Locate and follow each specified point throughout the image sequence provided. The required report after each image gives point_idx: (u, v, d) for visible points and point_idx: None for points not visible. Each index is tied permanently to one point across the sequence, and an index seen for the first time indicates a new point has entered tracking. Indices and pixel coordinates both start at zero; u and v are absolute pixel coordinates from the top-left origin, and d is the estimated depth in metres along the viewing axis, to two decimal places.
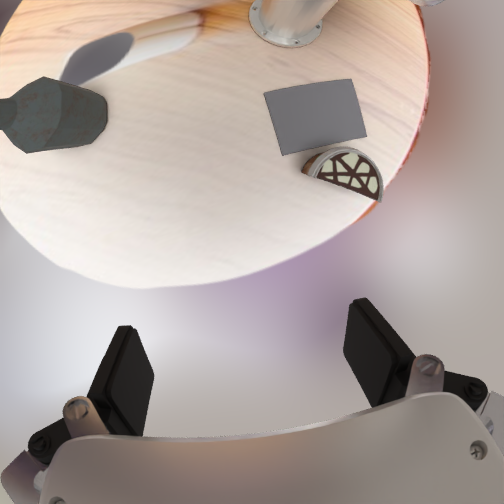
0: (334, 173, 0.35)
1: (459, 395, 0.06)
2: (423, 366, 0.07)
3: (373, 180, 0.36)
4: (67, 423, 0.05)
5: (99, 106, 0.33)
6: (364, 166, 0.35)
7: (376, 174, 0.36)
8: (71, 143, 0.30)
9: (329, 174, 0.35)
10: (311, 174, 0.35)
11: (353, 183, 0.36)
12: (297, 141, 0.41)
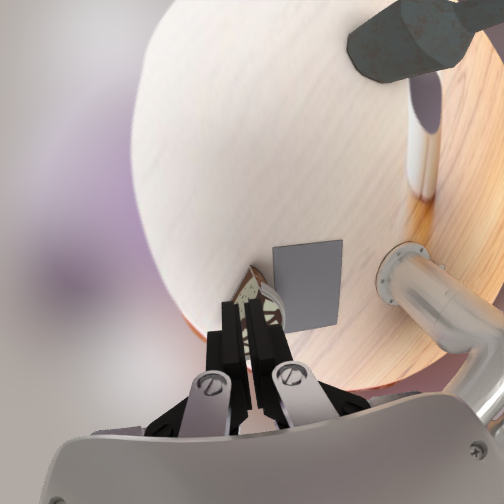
0: None
1: None
2: (286, 377, 0.08)
3: (245, 350, 0.35)
4: (205, 400, 0.07)
5: (386, 78, 0.29)
6: None
7: None
8: (371, 37, 0.23)
9: None
10: (264, 288, 0.32)
11: (246, 331, 0.34)
12: (285, 266, 0.41)
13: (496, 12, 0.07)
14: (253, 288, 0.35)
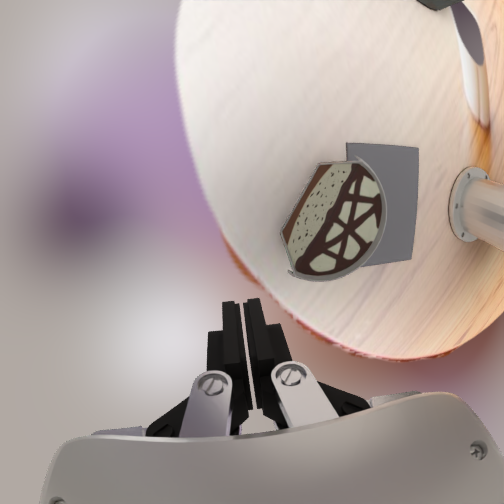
0: (356, 197, 0.22)
1: None
2: (285, 377, 0.07)
3: (329, 265, 0.24)
4: (206, 400, 0.07)
5: (438, 1, 0.17)
6: (354, 251, 0.24)
7: (337, 271, 0.24)
8: None
9: (356, 188, 0.21)
10: (361, 159, 0.21)
11: (335, 228, 0.22)
12: None
13: None
14: (338, 171, 0.24)
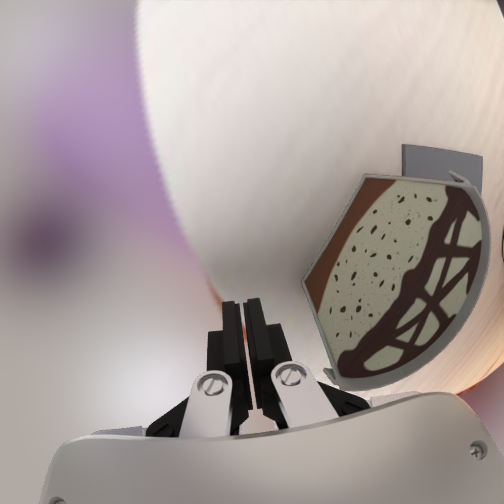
0: (452, 249, 0.10)
1: None
2: (285, 377, 0.07)
3: (393, 358, 0.12)
4: (206, 400, 0.07)
5: None
6: (430, 332, 0.12)
7: (401, 364, 0.13)
8: None
9: (455, 233, 0.10)
10: None
11: (416, 306, 0.11)
12: None
13: None
14: (415, 196, 0.12)
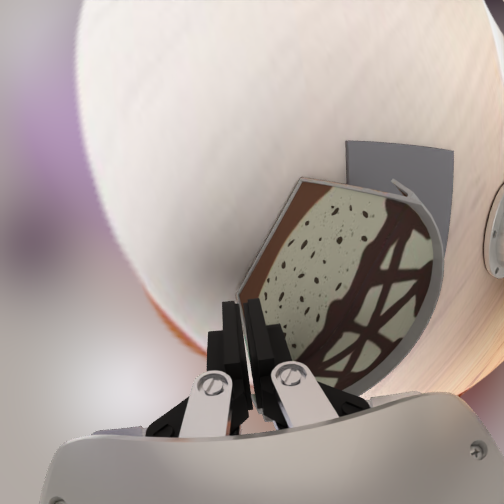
0: (392, 274, 0.10)
1: None
2: (285, 377, 0.07)
3: None
4: (206, 400, 0.07)
5: None
6: (370, 358, 0.12)
7: None
8: None
9: (395, 257, 0.10)
10: None
11: (345, 340, 0.10)
12: (370, 184, 0.18)
13: None
14: (350, 208, 0.12)
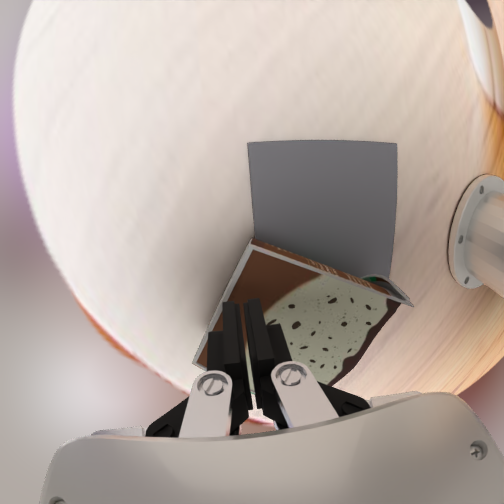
0: None
1: None
2: (285, 377, 0.07)
3: None
4: (206, 400, 0.07)
5: None
6: None
7: None
8: None
9: None
10: (404, 293, 0.14)
11: None
12: (278, 188, 0.17)
13: None
14: (353, 301, 0.14)
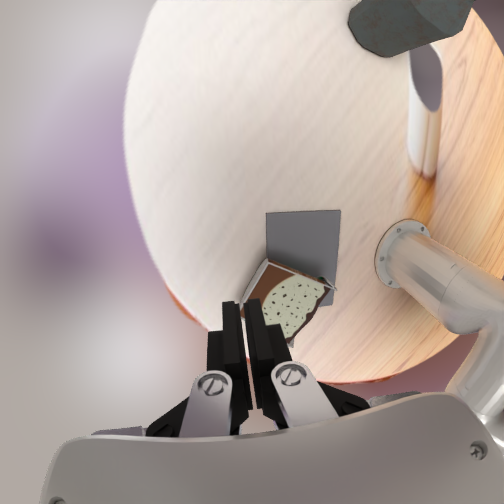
0: None
1: None
2: (285, 377, 0.08)
3: None
4: (206, 400, 0.07)
5: (387, 50, 0.26)
6: None
7: None
8: (372, 7, 0.20)
9: None
10: (332, 284, 0.35)
11: None
12: (279, 234, 0.38)
13: None
14: (308, 286, 0.35)
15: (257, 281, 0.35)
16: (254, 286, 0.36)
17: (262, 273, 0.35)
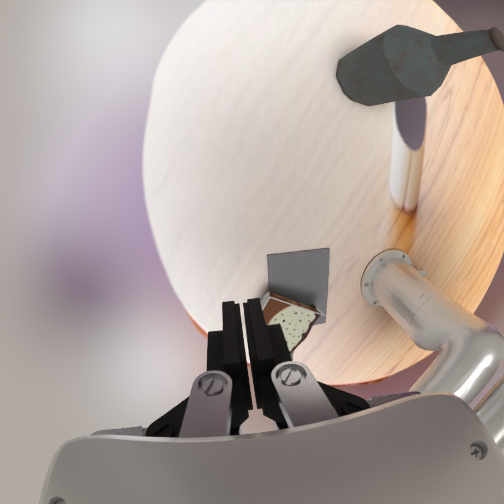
0: None
1: None
2: (285, 377, 0.07)
3: None
4: (206, 400, 0.07)
5: (371, 102, 0.35)
6: None
7: None
8: (357, 67, 0.29)
9: None
10: (321, 311, 0.43)
11: None
12: (278, 271, 0.47)
13: (470, 48, 0.12)
14: (302, 313, 0.43)
15: None
16: None
17: (265, 305, 0.44)
